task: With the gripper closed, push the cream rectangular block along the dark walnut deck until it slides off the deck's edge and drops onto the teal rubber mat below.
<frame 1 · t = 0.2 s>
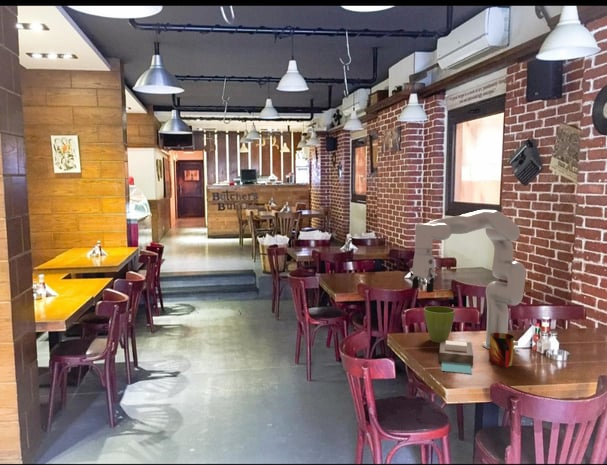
hand: (422, 290, 219), 31 cm above the table, tool pointing down, fingers open, 9 cm apart
mat: (456, 368, 210), on the table
mug: (504, 364, 215), on the table
flower pot: (438, 341, 249), on the table
cream rectangular block: (456, 348, 223), point 4 cm above the table, touching deck
deck: (455, 355, 225), on the table
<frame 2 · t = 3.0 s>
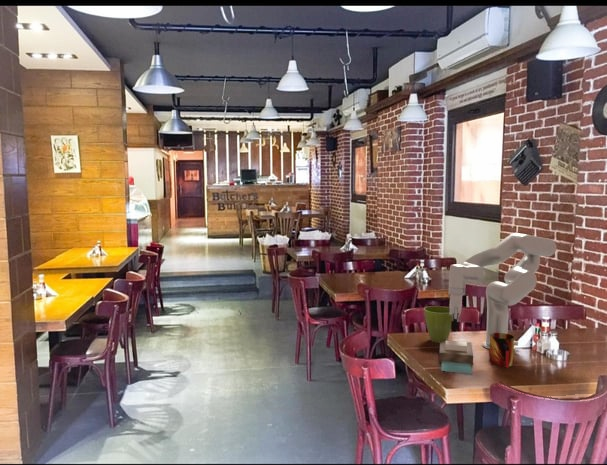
hand: (454, 329, 234), 10 cm above the table, tool pointing down, fingers closed
nothing on the table moved.
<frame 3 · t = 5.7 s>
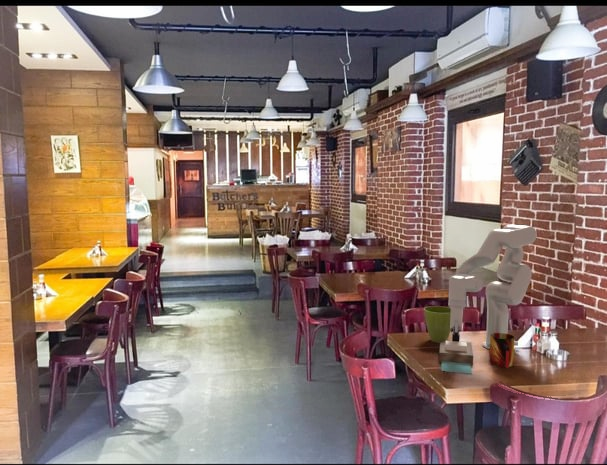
hand: (455, 342, 227), 5 cm above the table, tool pointing down, fingers closed
cream rectangular block: (456, 348, 223), point 4 cm above the table, touching gripper
everything else where it was.
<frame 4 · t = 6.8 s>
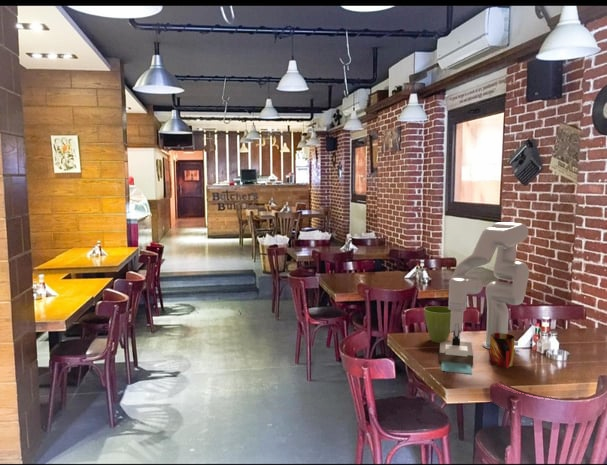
hand: (455, 346, 221), 5 cm above the table, tool pointing down, fingers closed
cream rectangular block: (456, 353, 217), point 4 cm above the table, touching deck
everything else where it was.
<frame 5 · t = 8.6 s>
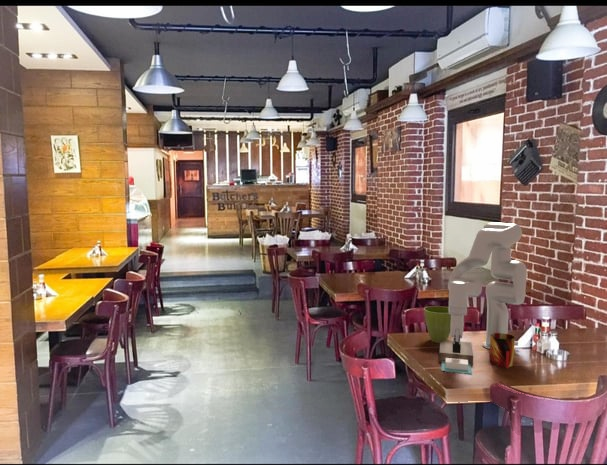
hand: (456, 352, 214), 5 cm above the table, tool pointing down, fingers closed
cream rectangular block: (456, 361, 210), point 3 cm above the table, tilted 180°, touching mat
everything else where it was.
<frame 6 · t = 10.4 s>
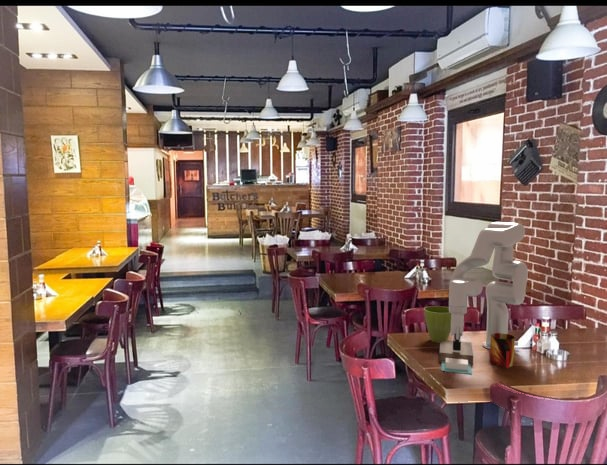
hand: (456, 349, 218), 5 cm above the table, tool pointing down, fingers closed
nothing on the table moved.
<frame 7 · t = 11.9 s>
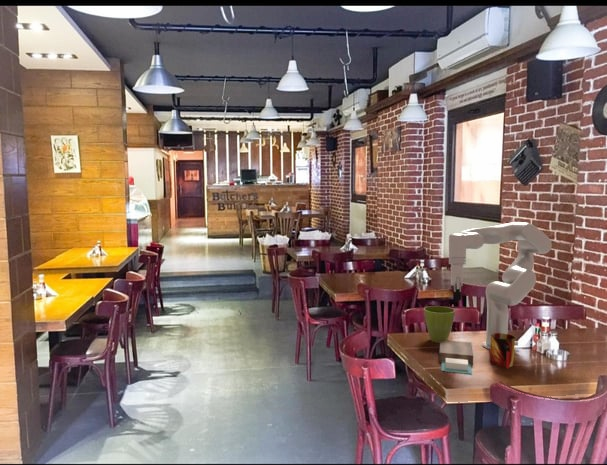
hand: (457, 299, 229), 25 cm above the table, tool pointing down, fingers closed
nothing on the table moved.
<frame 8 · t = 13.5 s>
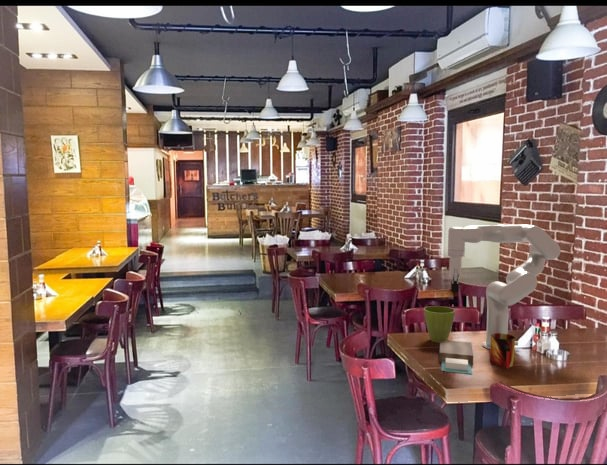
hand: (454, 291, 235), 27 cm above the table, tool pointing down, fingers closed
at the end: cream rectangular block inside the target area (0.3 cm from its centre), point 2.9 cm above the table; cream rectangular block touching mat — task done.
